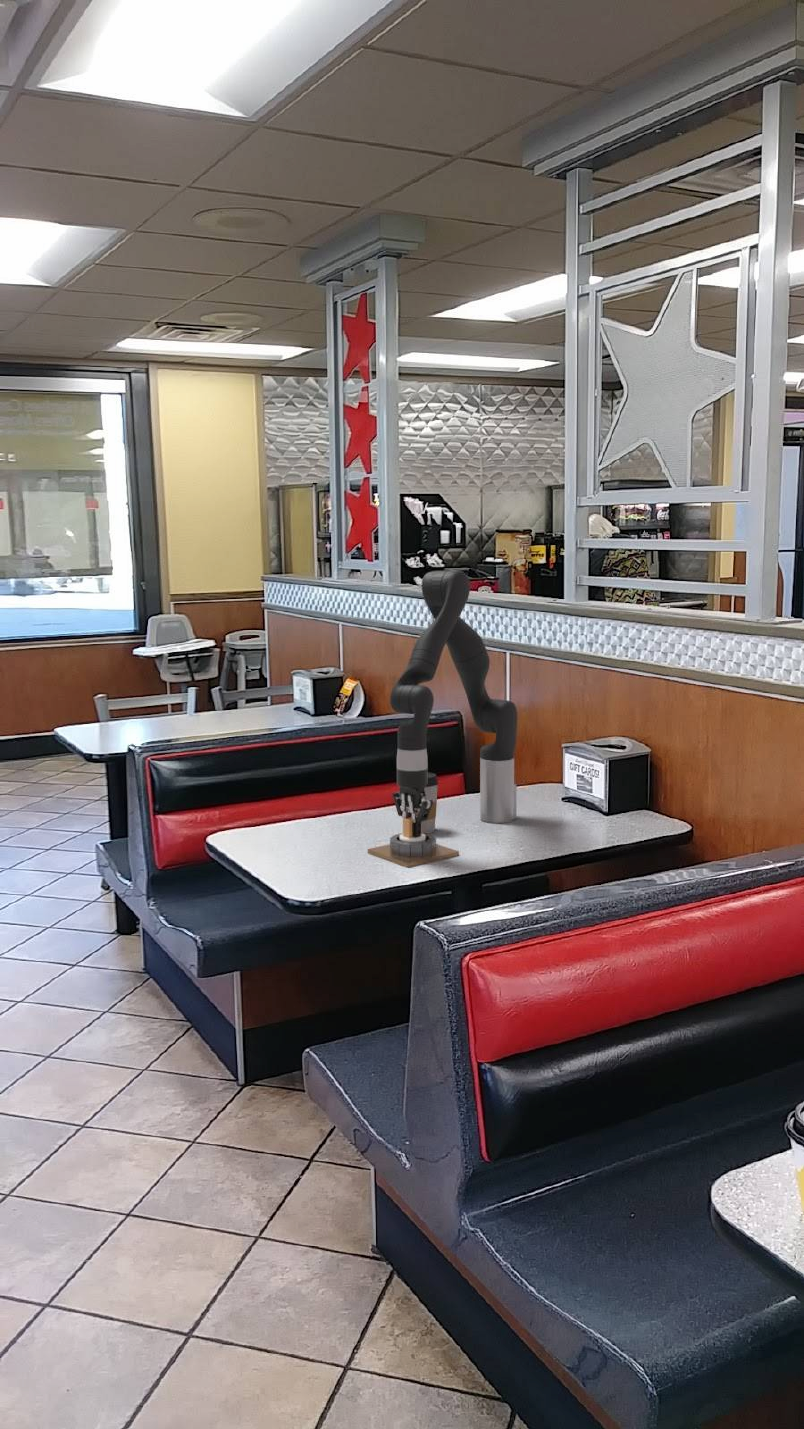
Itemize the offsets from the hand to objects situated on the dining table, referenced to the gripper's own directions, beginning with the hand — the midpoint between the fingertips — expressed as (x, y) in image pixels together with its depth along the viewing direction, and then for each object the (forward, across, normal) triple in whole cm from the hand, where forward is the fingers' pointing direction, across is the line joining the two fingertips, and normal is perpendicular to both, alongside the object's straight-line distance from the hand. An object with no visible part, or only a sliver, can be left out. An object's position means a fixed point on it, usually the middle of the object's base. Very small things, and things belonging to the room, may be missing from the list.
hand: (412, 835), depth 274 cm
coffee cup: (+5, +16, -16) cm, 23 cm away
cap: (+1, 0, 0) cm, 1 cm away
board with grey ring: (+5, 0, 0) cm, 5 cm away
